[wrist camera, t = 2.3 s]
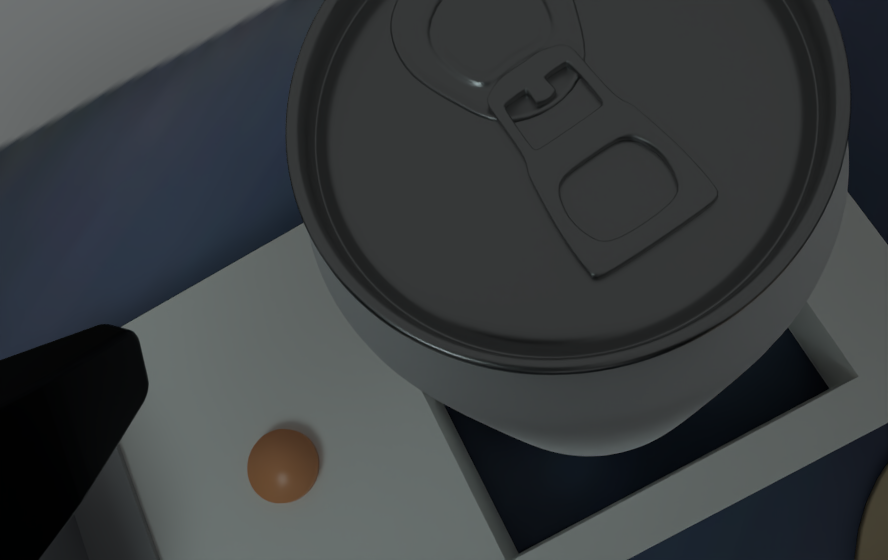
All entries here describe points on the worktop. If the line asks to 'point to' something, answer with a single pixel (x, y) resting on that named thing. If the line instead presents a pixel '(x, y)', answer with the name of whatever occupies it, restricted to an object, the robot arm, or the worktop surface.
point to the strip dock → (409, 430)
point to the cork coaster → (874, 523)
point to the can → (571, 197)
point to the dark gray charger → (67, 544)
